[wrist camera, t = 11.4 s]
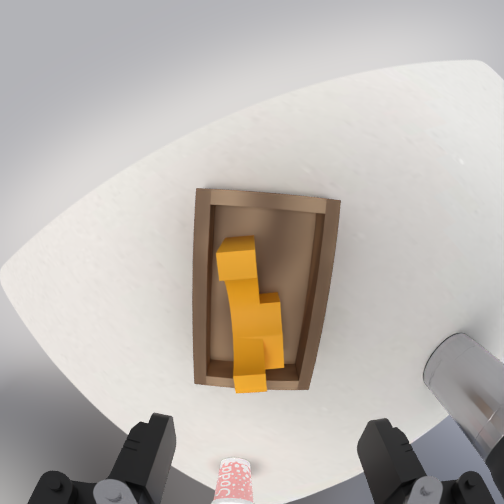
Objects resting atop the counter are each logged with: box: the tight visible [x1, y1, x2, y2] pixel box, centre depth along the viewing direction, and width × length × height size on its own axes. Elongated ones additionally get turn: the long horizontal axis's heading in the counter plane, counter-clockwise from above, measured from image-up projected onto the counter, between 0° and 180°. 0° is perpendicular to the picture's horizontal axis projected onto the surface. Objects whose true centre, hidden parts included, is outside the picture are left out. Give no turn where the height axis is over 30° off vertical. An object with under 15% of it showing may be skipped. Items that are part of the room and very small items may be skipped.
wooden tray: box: [192, 188, 341, 390], centre depth 24 cm, size 11×18×4 cm, turn 176°
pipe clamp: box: [216, 235, 284, 393], centre depth 22 cm, size 12×4×6 cm, turn 5°
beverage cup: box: [211, 458, 255, 504], centre depth 25 cm, size 6×6×14 cm
